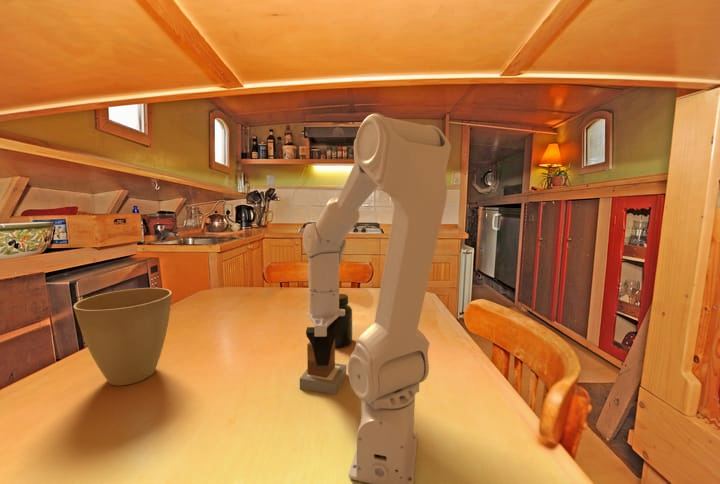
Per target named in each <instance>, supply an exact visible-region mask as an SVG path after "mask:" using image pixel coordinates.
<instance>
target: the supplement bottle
mask: <svg viewBox="0 0 720 484" xmlns="http://www.w3.org/2000/svg"><path fill="white" fill-rule="evenodd" d="M339 309H345V315H344V316H339V319H338V321H337V323H336V326H335V329H338V334H337V336H336V338H335V349H340V348H346V347H349V346H350V345H351V344H352V342H353V308H352V307H351V305H349V295H347V294H345V293H339Z"/></svg>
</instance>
